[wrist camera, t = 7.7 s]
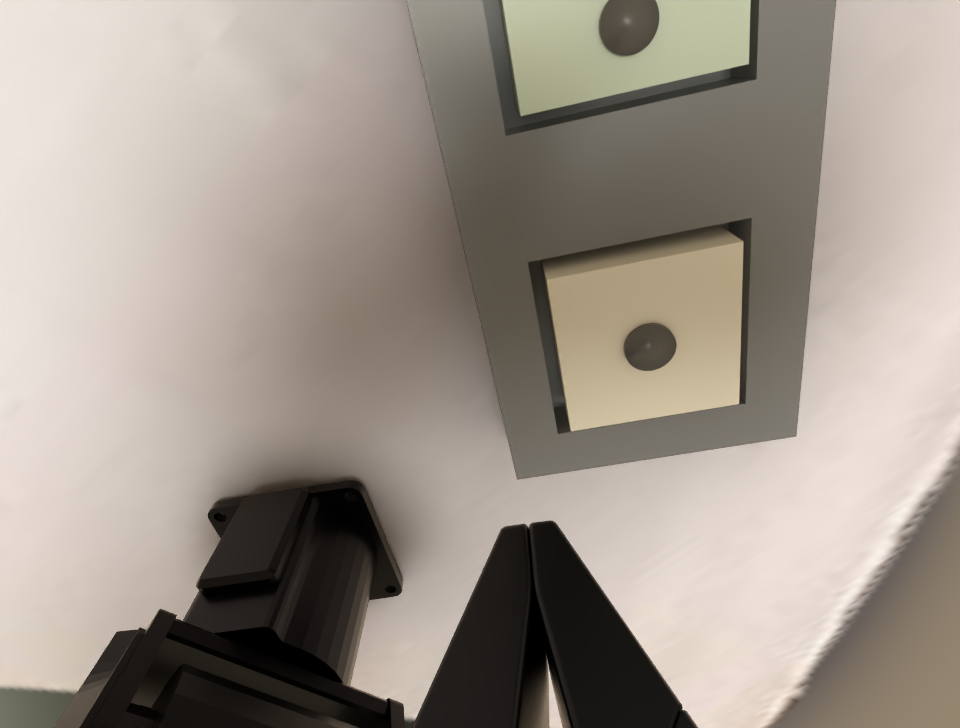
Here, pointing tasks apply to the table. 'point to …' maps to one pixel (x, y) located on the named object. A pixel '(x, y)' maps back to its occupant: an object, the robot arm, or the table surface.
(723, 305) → the cream tile one
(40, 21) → the table surface
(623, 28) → the sage tile two
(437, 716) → the robot arm
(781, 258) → the panel
